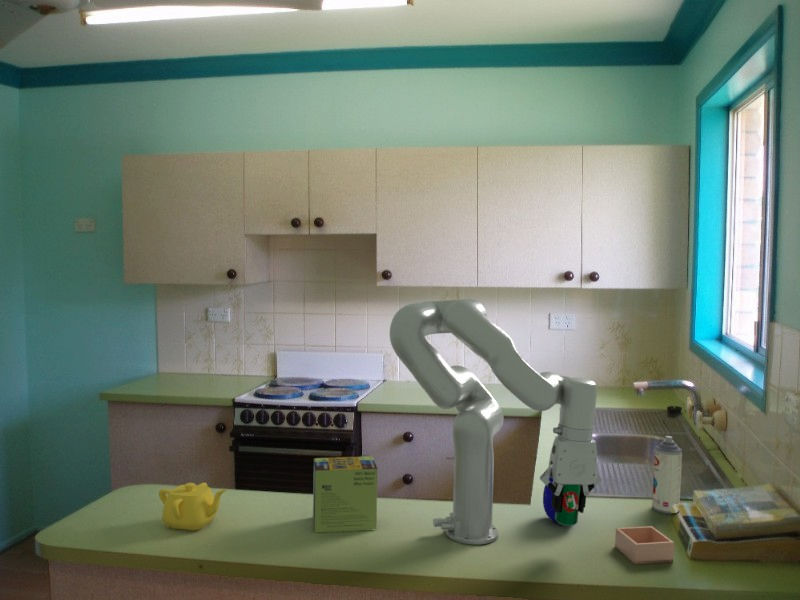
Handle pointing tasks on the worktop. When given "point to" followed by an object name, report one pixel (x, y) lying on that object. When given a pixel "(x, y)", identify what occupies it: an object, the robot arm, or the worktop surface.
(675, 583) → the worktop surface
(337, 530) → the protein box
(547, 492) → the ornament
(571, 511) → the soda can
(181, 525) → the teapot
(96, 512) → the worktop surface
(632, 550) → the box
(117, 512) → the worktop surface
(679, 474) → the aerosol can
